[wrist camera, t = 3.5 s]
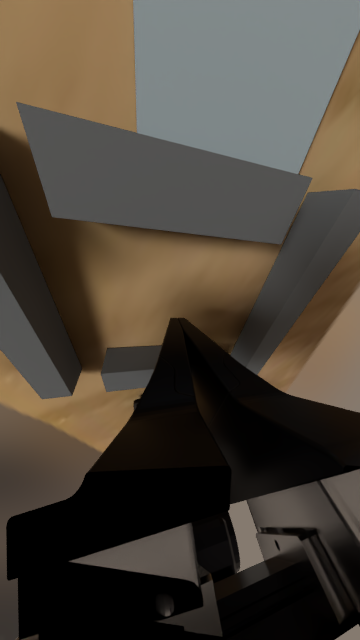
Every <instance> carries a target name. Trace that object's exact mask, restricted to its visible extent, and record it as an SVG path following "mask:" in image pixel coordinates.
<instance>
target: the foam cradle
mask: <svg viewBox="0 0 360 640" xmlns="http://www.w3.org/2000/svg"><path fill="white" fill-rule="evenodd" d="M16 103H17V106H18V110H19V113H20V116H21V119H22V122H23V126H24V129H25V132H26V135H27V139H28V142H29V145H30V148H31V151H32V155H33V158H34V161H35V164H36V167H37V171H38V174H39V177H40V180H41V183H42V187H43V190H44V193H45V196H46V199H47V203H48V206H49V209H50V212H51V216H52V217H56V218H65V219H73V220H81V221H90V222H98V223H106V224H115V225H123V226H131V227H140V228H148V229H156V230H165V231H173V232H181V233H190V234H198V235H206V236H215V237H223V238H231V239H240V240H248V241H256V242H265V243H273V244H282V242H283V240H284V237H285V235H286V233H287V231H288V229H289V227H290V225H291V223H292V220H293V218H294V216H295V214H296V212H297V210H298V208H299V206H300V204H301V201H302V199H303V197H304V195H305V193H306V191H307V189H308V187H309V184H310V182H311V180H312V178H311V177H307V176H303V175H299V174H295V173H291V172H287V171H283V170H280V169H276V168H272V167H268V166H264V165H260V164H256V163H252V162H248V161H244V160H241V159H237V158H233V157H229V156H225V155H221V154H217V153H213V152H209V151H206V150H202V149H198V148H194V147H190V146H186V145H182V144H178V143H174V142H170V141H167V140H163V139H159V138H155V137H151V136H147V135H143V134H139V133H135V132H131V131H128V130H124V129H120V128H116V127H112V126H108V125H104V124H100V123H96V122H92V121H89V120H85V119H81V118H77V117H73V116H69V115H65V114H61V113H57V112H53V111H50V110H46V109H42V108H38V107H34V106H30V105H26V104H22V103H18V102H16ZM359 232H360V190H358V189H349V190H336V191H322V192H309V193H308V194H307V196H306V198H305V200H304V202H303V204H302V206H301V208H300V211H299V213H298V215H297V217H296V219H295V221H294V223H293V225H292V227H291V229H290V231H289V234H288V236H287V238H286V240H285V242H284V244H283V246H282V248H281V250H280V252H279V254H278V256H277V259H276V261H275V263H274V265H273V267H272V269H271V271H270V273H269V275H268V277H267V279H266V282H265V284H264V286H263V288H262V290H261V292H260V294H259V296H258V298H257V300H256V302H255V304H254V307H253V309H252V311H251V313H250V315H249V317H248V319H247V321H246V323H245V325H244V327H243V330H242V332H241V334H240V336H239V338H238V340H237V342H236V344H235V346H234V348H233V350H232V352H231V356H232V357H233V358H234V359H236V360H237V361H238V362H239V363H241V364H242V365H244V366H245V367H246V368H248V369H249V370H251V371H252V372H253V373H255V374H256V375H257V374H258V373H259V372H260V370H261V369H262V367H263V366H264V365H265V363H266V362H267V360H268V359H269V358H270V356H271V355H272V353H273V352H274V351H275V349H276V348H277V346H278V345H279V344H280V342H281V341H282V340H283V338H284V337H285V335H286V334H287V333H288V331H289V330H290V328H291V327H292V326H293V324H294V323H295V321H296V320H297V319H298V317H299V316H300V315H301V313H302V312H303V310H304V309H305V308H306V306H307V305H308V303H309V302H310V301H311V299H312V298H313V296H314V295H315V294H316V292H317V291H318V289H319V288H320V287H321V285H322V284H323V283H324V281H325V280H326V278H327V277H328V276H329V274H330V273H331V271H332V270H333V269H334V267H335V266H336V264H337V263H338V262H339V260H340V259H341V257H342V256H343V255H344V253H345V252H346V251H347V249H348V248H349V246H350V245H351V244H352V242H353V241H354V239H355V238H356V237H357V235H358V234H359ZM161 347H162V345H161V346H142V347H124V348H107V351H106V355H105V359H104V363H103V367H102V371H101V376H102V379H103V382H104V386H105V389H106V392H110V391H118V390H127V389H136V388H145V387H146V386H147V384H148V382H149V380H150V378H151V376H152V374H153V371H154V369H155V366H156V363H157V360H158V357H159V354H160V350H161ZM0 350H1V351H2V352H3V353H4V354H5V356H6V357H7V358H8V359H9V360H10V362H11V363H12V364H13V365H14V366H15V367H16V369H17V370H18V371H19V372H20V373H21V375H22V376H23V377H24V378H25V379H26V381H27V382H28V383H29V384H30V385H31V387H32V388H33V389H34V390H35V391H36V393H37V394H38V395H39V396H40V397H41V399H48V398H57V397H66V396H72V394H73V392H74V389H75V386H76V384H77V381H78V378H79V376H80V373H81V370H82V367H81V365H80V363H79V360H78V358H77V355H76V353H75V351H74V348H73V346H72V344H71V341H70V339H69V336H68V334H67V332H66V329H65V327H64V325H63V322H62V320H61V317H60V315H59V313H58V310H57V308H56V306H55V303H54V301H53V298H52V296H51V294H50V291H49V289H48V287H47V284H46V282H45V279H44V277H43V275H42V272H41V270H40V267H39V265H38V263H37V260H36V258H35V256H34V253H33V251H32V248H31V246H30V244H29V241H28V239H27V237H26V234H25V232H24V229H23V227H22V225H21V222H20V220H19V218H18V215H17V213H16V210H15V208H14V206H13V203H12V201H11V199H10V196H9V194H8V191H7V189H6V187H5V184H4V182H3V180H2V177H1V175H0Z"/></svg>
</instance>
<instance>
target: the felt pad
mask: <svg viewBox="0 0 360 640" xmlns="http://www.w3.org/2000/svg"><path fill="white" fill-rule="evenodd" d="M133 6H134V42H135V77H136V112H137V133H139V134H143V135H147V136H151V137H155V138H159V139H163V140H167V141H170V142H174V143H178V144H182V145H186V146H190V147H194V148H198V149H202V150H206V151H209V152H213V153H217V154H221V155H225V156H229V157H233V158H237V159H241V160H244V161H248V162H252V163H256V164H260V165H264V166H268V167H272V168H276V169H280V170H283V171H287V172H291V173H295V174H298V173H299V171H300V169H301V166H302V164H303V162H304V159H305V157H306V155H307V152H308V150H309V147H310V145H311V143H312V140H313V138H314V136H315V133H316V131H317V129H318V126H319V124H320V122H321V119H322V117H323V115H324V112H325V110H326V108H327V105H328V103H329V100H330V98H331V96H332V93H333V91H334V89H335V86H336V84H337V82H338V79H339V77H340V75H341V72H342V70H343V68H344V65H345V63H346V61H347V58H348V56H349V53H350V51H351V49H352V46H353V44H354V42H355V39H356V37H357V35H358V32H359V30H360V0H133Z"/></svg>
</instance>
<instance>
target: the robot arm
mask: <svg viewBox="0 0 360 640" xmlns="http://www.w3.org/2000/svg"><path fill="white" fill-rule="evenodd" d="M244 500H247V503H248V506H249V509H250V512H251V515H252V517H253V520H254V523H255V526H256V529H257V531H258V533H256V538H257V540H258V543H259V546H260V549H261V552H262V555H263V558H264V561H263V562H261V563H259V564H256V565H254V566H252V567H250V568H247V569H245V570H243V571H241V572H238V571H239V569H240V557H239V550H238V545H237V540H236V536H235V532H234V528H233V525H232V522H231V519H230V516H229V513H228V510H229V508H230V504H233V503H237V502H240V501H244ZM6 530H7V579H8V580H12V579H16V578H18V610H19V611H18V613H19V637H18V638H17V639H16V640H335V639H336V638H338V637H339V636H341V635H342V634H344V633H345V632H347V631H348V630H350V629H351V628H353V627H354V626H355V625H357V624H359V626H360V413H359V412H354V411H350V410H346V409H343V408H339V407H335V406H331V405H327V404H323V403H318V402H315V401H311V400H306V399H303V398H299V397H295V396H291V395H289V394H286V393H284V392H282V391H280V390H278V389H277V388H275V387H274V386H272V385H271V384H269V383H268V382H266V381H265V380H263V379H262V378H261V377H259V376H258V375H256V374H255V373H253V372H252V371H251V370H249V369H248V368H246V367H245V366H244V365H242V364H241V363H239V362H238V361H237V360H236V359H234V358H233V357H232V356H231V355H229V354H228V353H227V352H225V351H224V350H223V349H222V348H221V347H219V346H218V345H217V344H216V343H215V342H213V341H212V340H211V339H210V338H209V337H207V336H206V335H205V334H204V333H202V332H201V331H200V330H199V329H198V328H196V327H195V326H194V325H193V324H191V323H190V322H189V321H188V320H187V319H185V318H170V321H169V325H168V328H167V331H166V334H165V337H164V341H163V344H162V347H161V350H160V354H159V357H158V360H157V363H156V366H155V369H154V371H153V374H152V376H151V378H150V380H149V382H148V384H147V386H146V388H145V390H144V392H143V394H142V396H141V399H137V400H135V401H134V412H133V414H132V416H131V417H130V419H129V420H128V422H127V423H126V425H125V426H124V427H123V428H122V430H121V431H120V432H119V433H118V435H117V436H116V437H115V439H114V440H113V441H112V442H111V444H110V445H109V446H108V447H107V449H106V450H105V451H104V452H103V454H102V455H101V456H100V457H99V459H98V460H97V461H96V463H95V464H94V465H93V466H92V468H91V469H90V470H89V471H88V472H87V473H86V475H85V478H84V480H83V482H82V485H81V486H80V488H79V489H78V491H77V492H76V493H75V494H74V495H73V496H72V497H70V498H68V499H66V500H63V501H60V502H57V503H54V504H51V505H47V506H44V507H41V508H38V509H35V510H32V511H28V512H25V513H22V514H19V515H16V516H13V517H11V518H10V519H9V520H8V522H7V527H6ZM237 572H238V573H237Z"/></svg>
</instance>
